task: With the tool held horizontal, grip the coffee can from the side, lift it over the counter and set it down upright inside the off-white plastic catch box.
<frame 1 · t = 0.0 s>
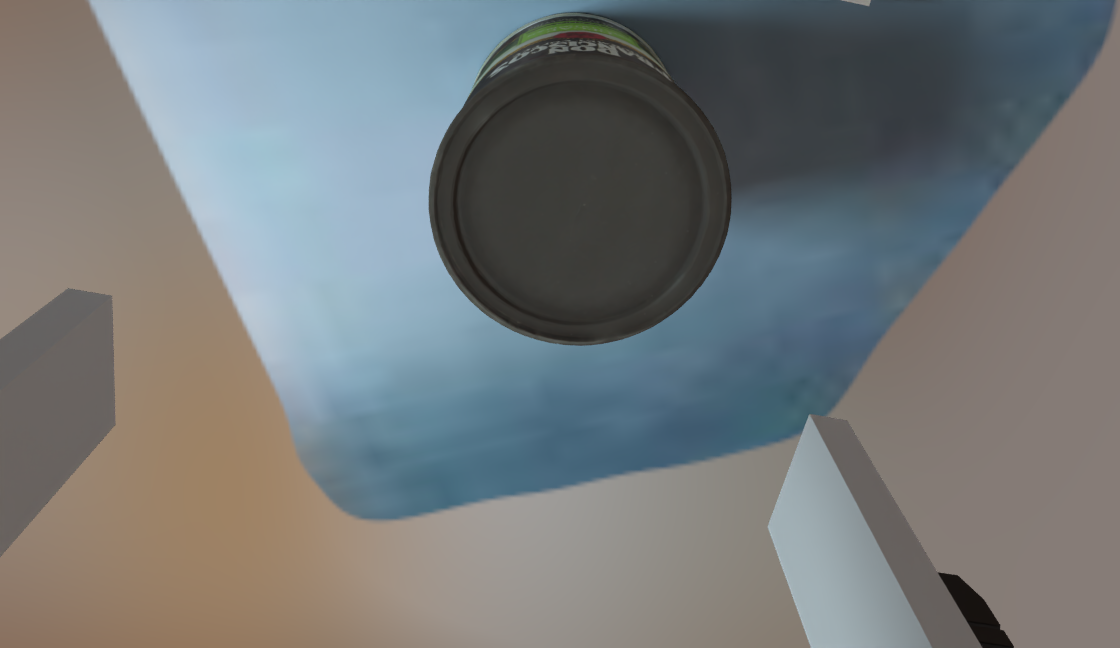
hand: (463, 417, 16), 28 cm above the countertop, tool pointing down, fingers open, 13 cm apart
coffee can: (571, 123, 42), on the countertop
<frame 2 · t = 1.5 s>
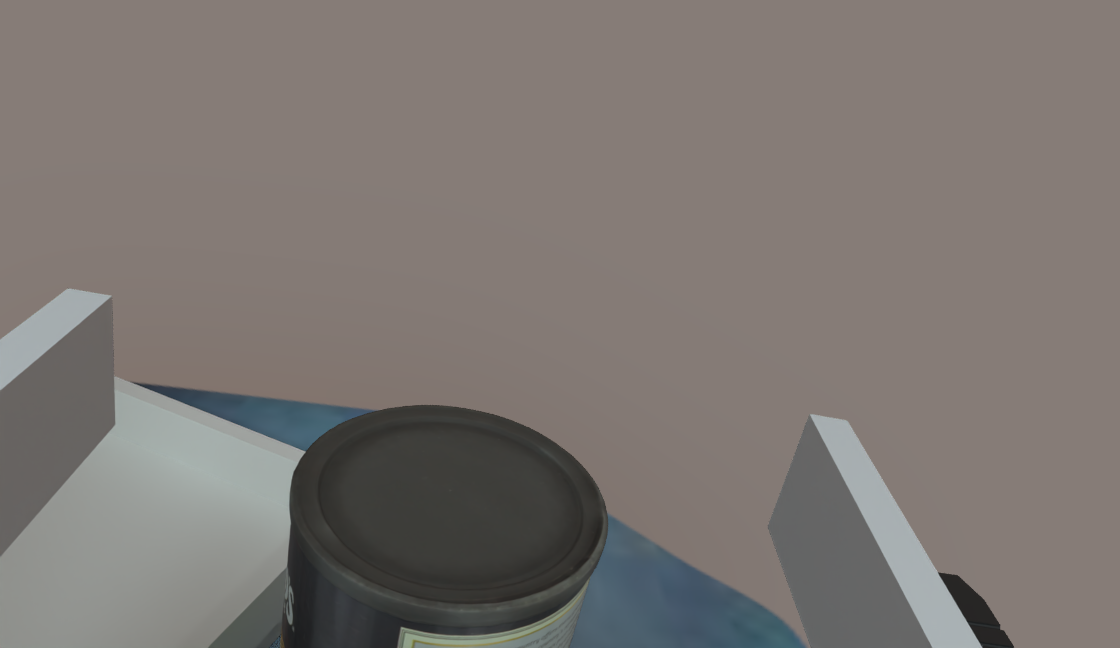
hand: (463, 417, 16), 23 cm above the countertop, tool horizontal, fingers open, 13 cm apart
catch box: (54, 586, 38), on the countertop
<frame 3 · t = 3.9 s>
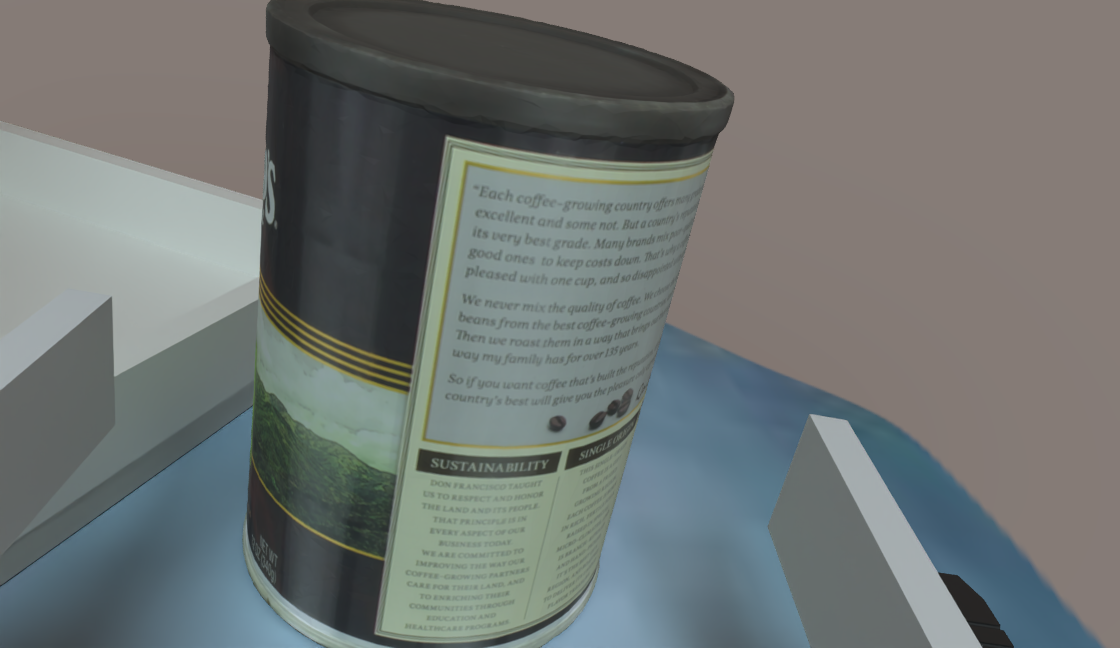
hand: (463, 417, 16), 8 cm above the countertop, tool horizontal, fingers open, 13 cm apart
coffee can: (427, 541, 25), on the countertop
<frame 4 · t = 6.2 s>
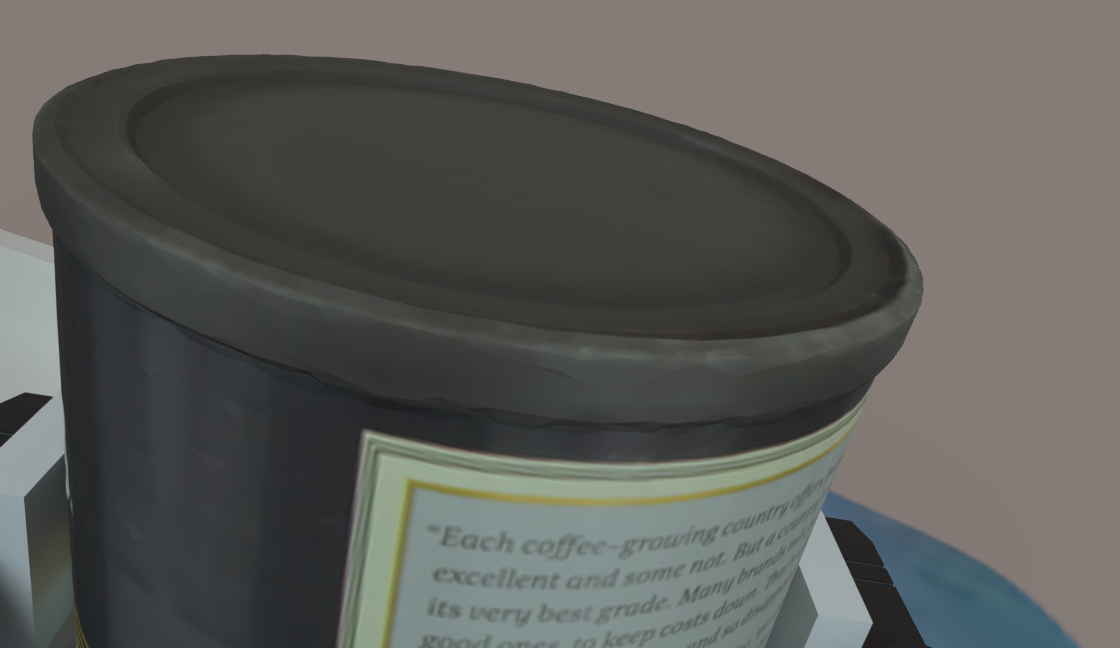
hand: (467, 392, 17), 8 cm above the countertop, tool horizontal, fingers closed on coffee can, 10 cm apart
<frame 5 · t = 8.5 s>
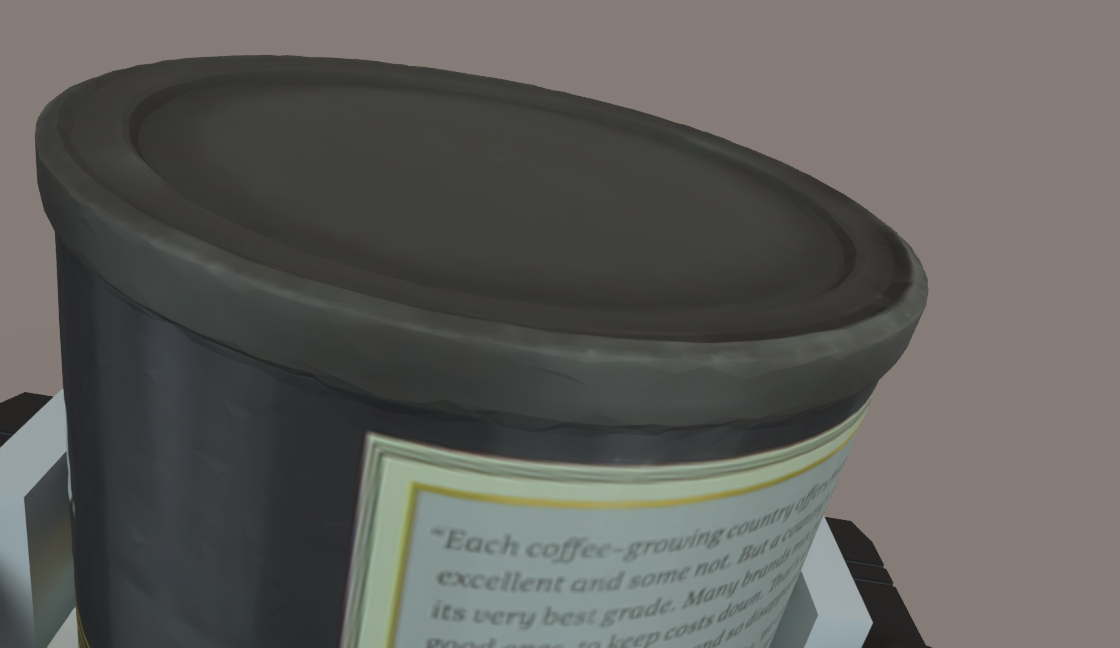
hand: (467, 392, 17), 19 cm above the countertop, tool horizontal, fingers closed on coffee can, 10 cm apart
when the fingers open (10 cm above the countertop, at t = 11.3 s): coffee can drops 1 cm, resting on catch box.
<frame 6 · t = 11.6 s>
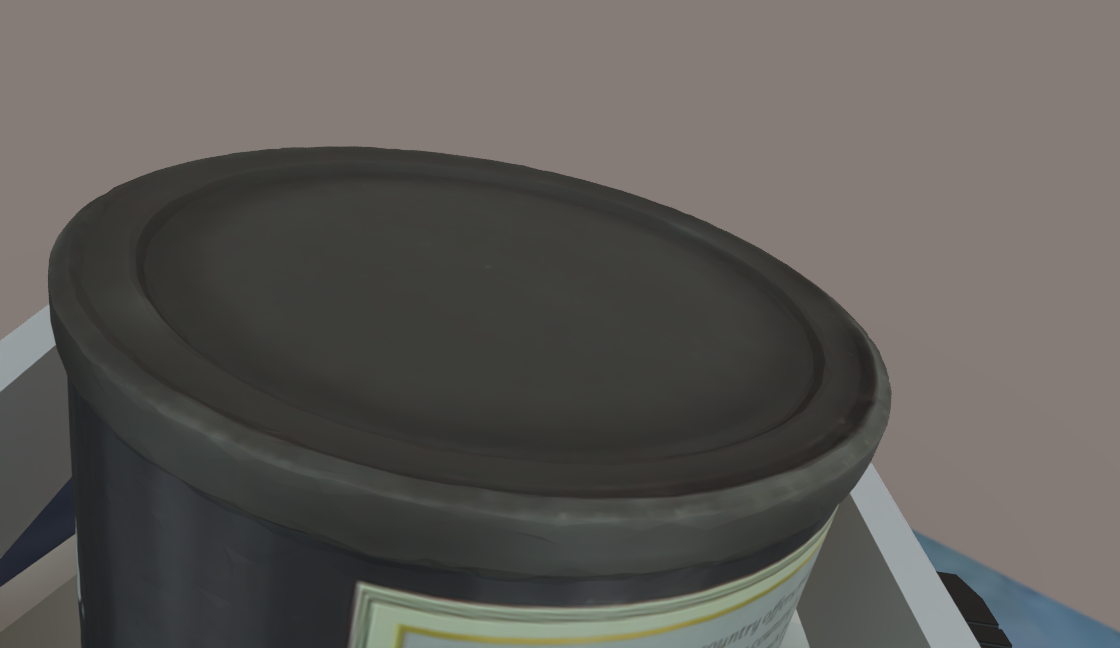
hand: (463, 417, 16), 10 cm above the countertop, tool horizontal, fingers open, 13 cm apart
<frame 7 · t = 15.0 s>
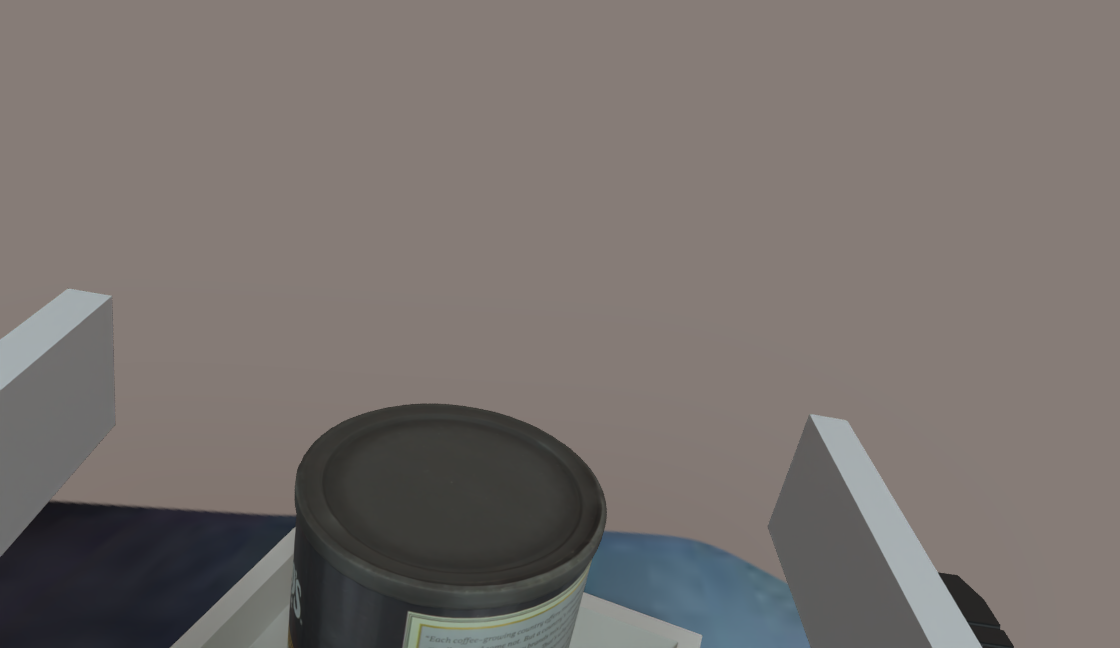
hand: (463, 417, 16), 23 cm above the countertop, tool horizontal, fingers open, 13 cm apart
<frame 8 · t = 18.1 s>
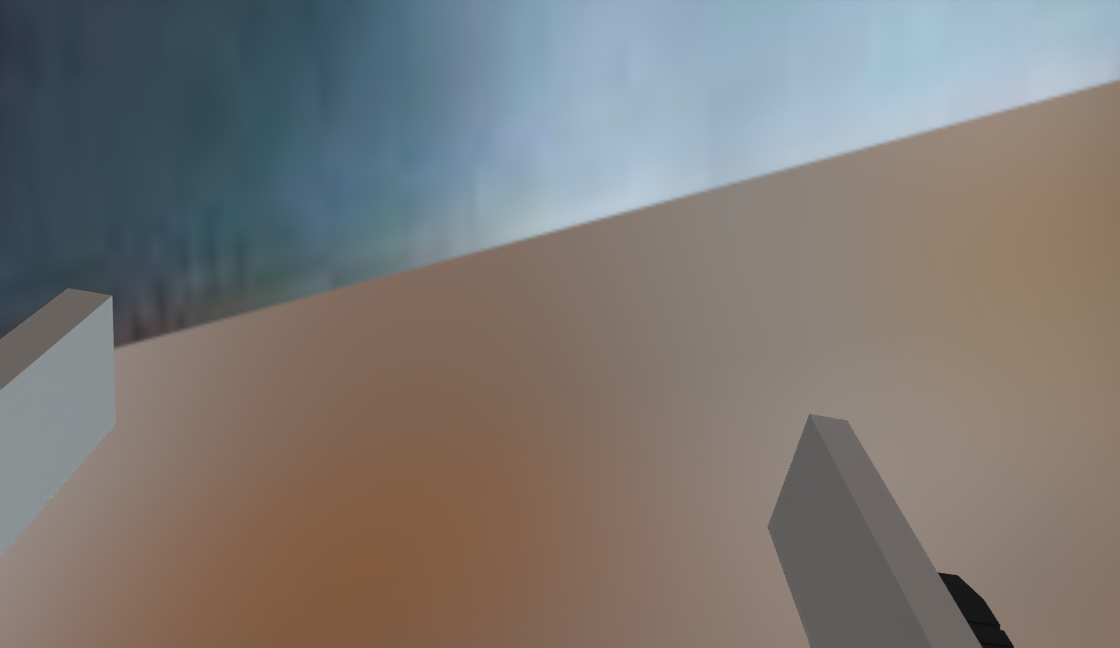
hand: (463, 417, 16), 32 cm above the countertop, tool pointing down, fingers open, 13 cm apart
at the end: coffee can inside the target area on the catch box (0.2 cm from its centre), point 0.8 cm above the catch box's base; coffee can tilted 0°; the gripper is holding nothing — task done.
